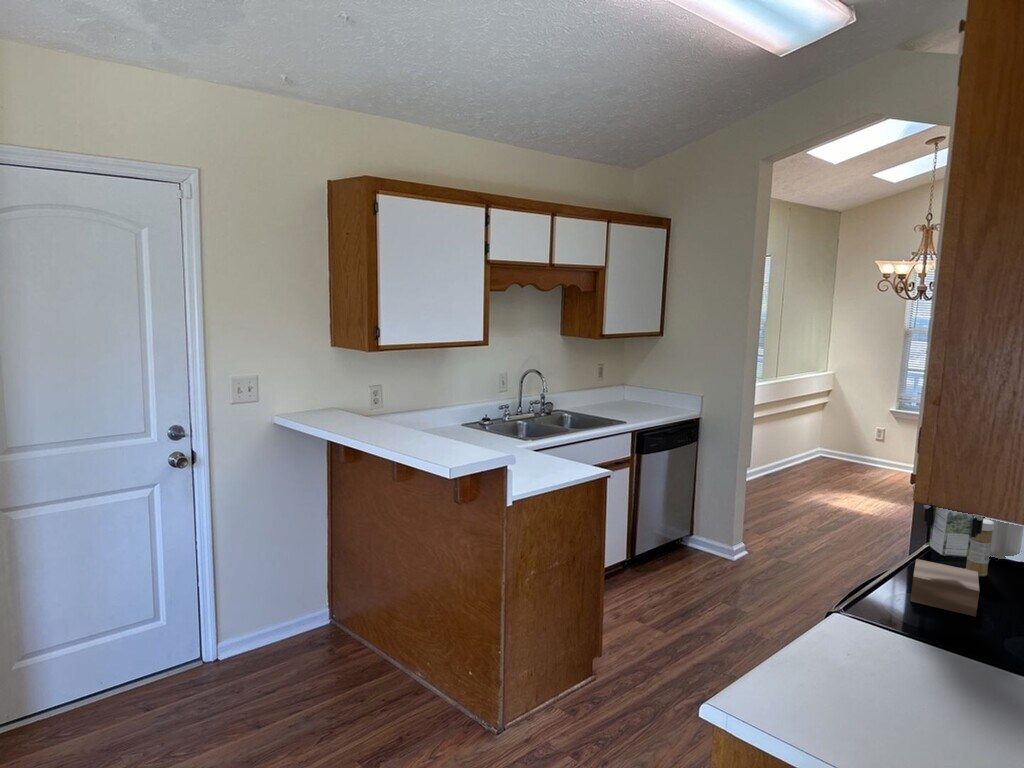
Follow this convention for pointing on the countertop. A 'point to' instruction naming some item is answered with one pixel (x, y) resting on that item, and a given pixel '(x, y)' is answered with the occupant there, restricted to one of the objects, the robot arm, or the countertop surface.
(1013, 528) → the robot arm
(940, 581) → the walnut block
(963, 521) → the syrup box
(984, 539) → the sprinkles bottle
